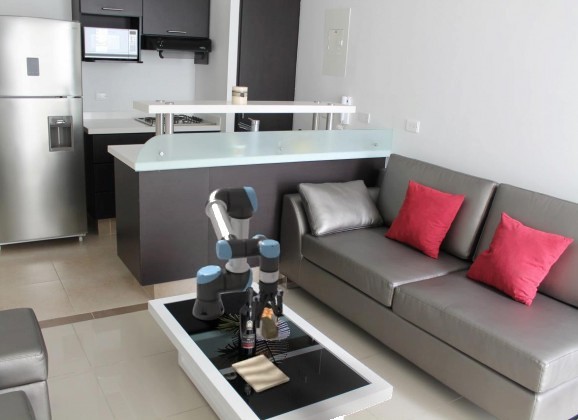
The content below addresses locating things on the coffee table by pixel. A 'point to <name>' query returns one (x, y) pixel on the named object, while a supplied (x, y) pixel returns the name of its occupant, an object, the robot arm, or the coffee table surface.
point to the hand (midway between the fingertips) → (266, 332)
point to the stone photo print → (260, 373)
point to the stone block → (269, 328)
